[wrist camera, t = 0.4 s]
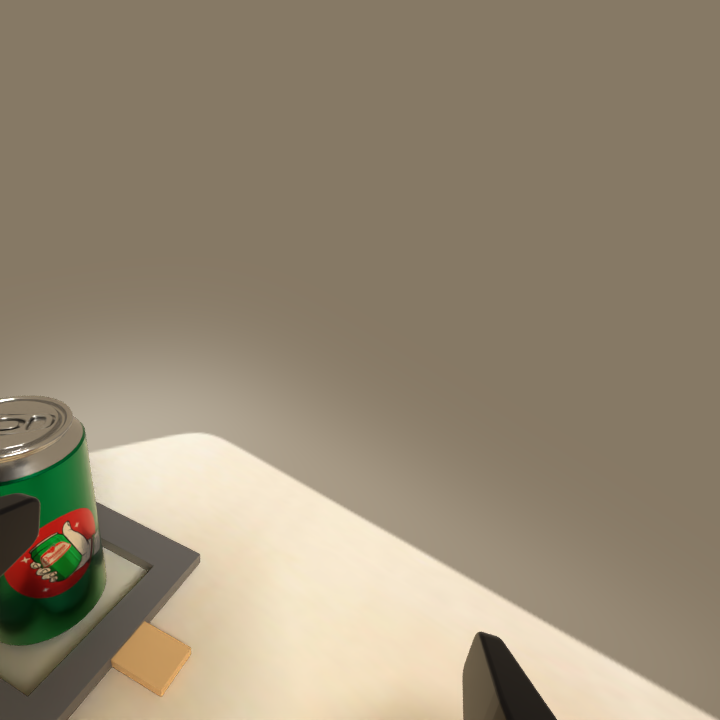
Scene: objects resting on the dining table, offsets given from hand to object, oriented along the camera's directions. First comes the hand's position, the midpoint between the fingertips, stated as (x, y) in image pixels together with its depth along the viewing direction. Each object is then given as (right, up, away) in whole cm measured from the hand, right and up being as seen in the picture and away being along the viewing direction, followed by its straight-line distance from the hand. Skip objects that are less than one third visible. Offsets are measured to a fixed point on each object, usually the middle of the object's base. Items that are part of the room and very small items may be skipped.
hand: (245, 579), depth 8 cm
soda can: (-15, -9, +14) cm, 22 cm away
